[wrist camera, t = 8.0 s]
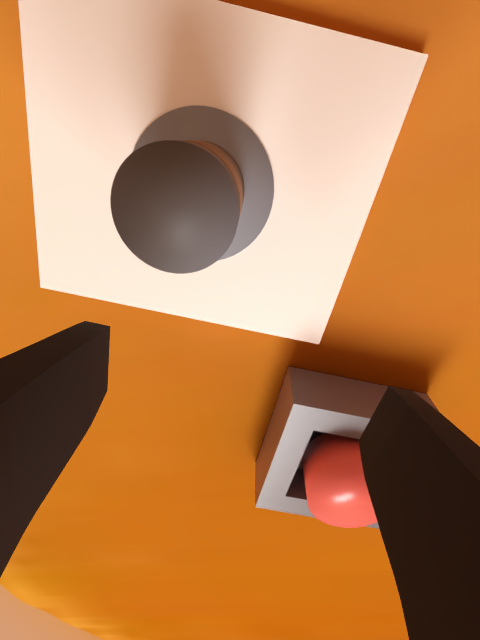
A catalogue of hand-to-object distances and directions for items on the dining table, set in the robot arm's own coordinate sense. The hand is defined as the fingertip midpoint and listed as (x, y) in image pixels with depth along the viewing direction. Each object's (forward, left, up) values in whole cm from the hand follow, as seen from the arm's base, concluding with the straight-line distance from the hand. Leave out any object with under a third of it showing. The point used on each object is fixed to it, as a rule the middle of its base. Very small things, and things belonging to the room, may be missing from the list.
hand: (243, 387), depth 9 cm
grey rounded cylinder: (+3, -3, -8) cm, 9 cm away
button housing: (-7, +9, -8) cm, 14 cm away
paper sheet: (+3, -3, -8) cm, 9 cm away
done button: (-7, +9, -6) cm, 13 cm away
